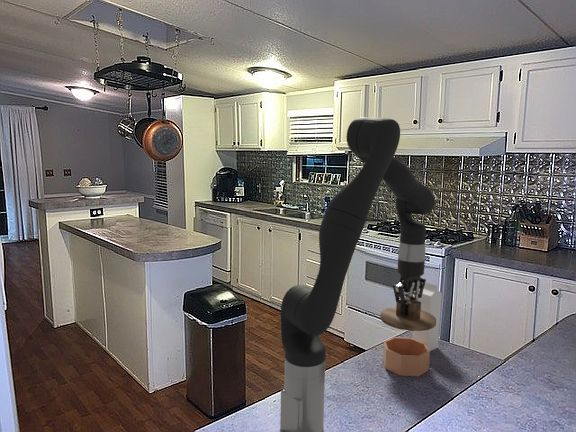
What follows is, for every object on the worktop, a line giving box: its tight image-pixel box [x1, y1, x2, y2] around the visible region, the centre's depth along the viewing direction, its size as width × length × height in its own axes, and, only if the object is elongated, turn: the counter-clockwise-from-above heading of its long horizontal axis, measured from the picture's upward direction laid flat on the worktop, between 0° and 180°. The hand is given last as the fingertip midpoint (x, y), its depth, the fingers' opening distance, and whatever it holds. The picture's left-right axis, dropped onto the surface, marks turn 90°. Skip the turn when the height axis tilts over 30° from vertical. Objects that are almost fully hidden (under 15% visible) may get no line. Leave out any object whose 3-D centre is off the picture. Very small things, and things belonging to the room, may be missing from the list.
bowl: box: [382, 336, 431, 377], centre depth 129 cm, size 13×13×6 cm
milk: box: [412, 281, 443, 352], centre depth 140 cm, size 6×6×22 cm
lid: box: [379, 296, 436, 332], centre depth 127 cm, size 16×16×6 cm
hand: (408, 314), depth 127 cm, fingers closed on lid, 3 cm apart
